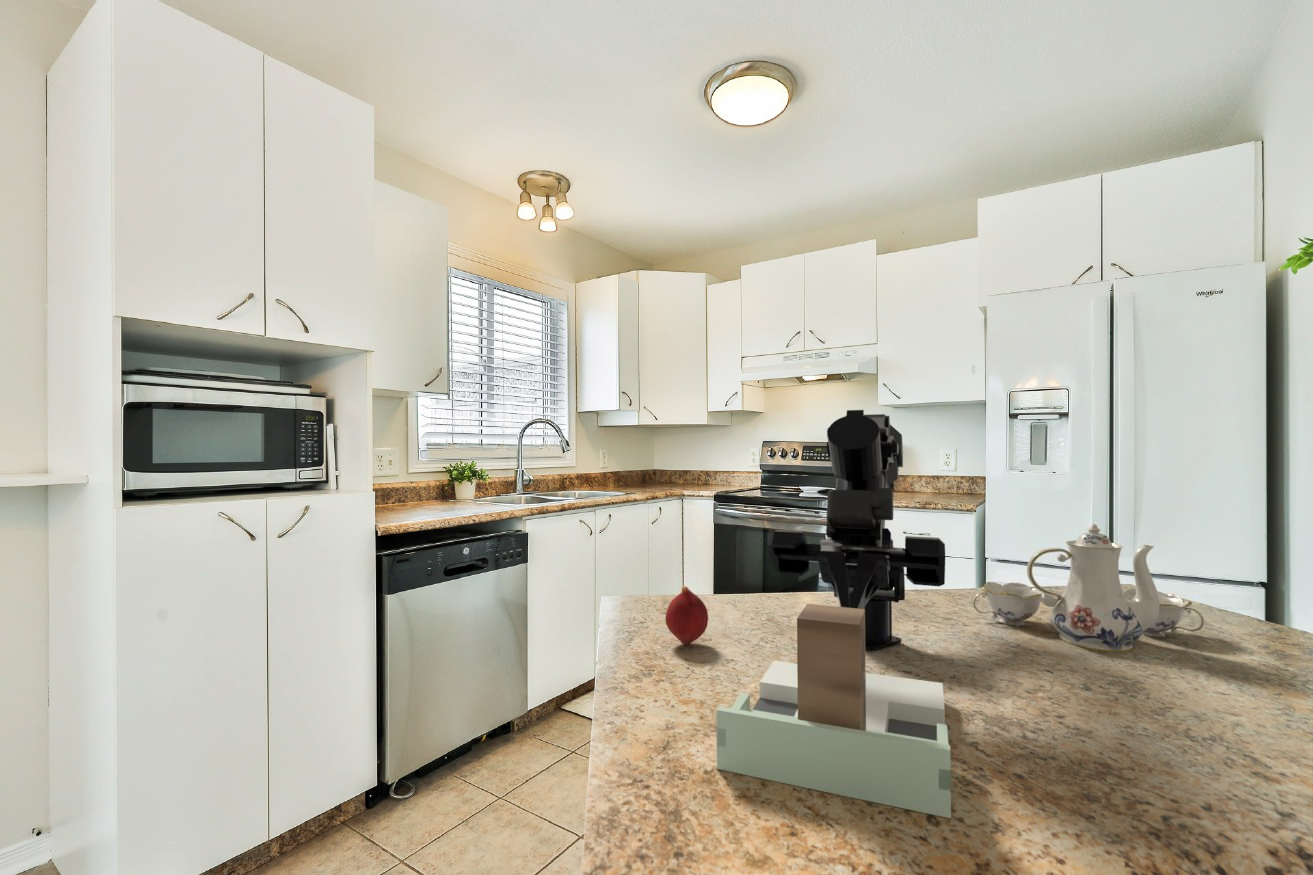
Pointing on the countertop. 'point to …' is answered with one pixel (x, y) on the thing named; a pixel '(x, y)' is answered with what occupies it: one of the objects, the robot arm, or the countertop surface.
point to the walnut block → (831, 666)
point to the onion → (686, 616)
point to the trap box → (845, 742)
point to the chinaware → (1093, 598)
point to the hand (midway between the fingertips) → (849, 624)
